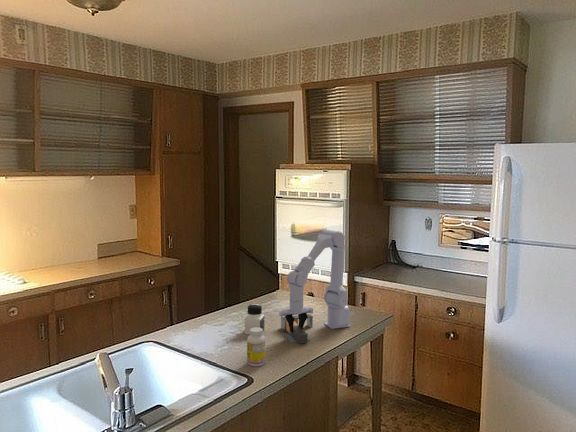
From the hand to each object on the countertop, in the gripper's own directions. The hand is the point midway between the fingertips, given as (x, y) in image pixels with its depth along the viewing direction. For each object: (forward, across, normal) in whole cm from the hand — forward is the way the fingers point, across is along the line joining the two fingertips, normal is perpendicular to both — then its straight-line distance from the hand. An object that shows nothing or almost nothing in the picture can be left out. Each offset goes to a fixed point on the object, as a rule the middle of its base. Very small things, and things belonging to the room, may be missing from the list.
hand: (296, 331), depth 203 cm
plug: (+2, 0, +1) cm, 2 cm away
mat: (+3, 0, 0) cm, 3 cm away
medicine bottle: (+3, +14, -12) cm, 19 cm away
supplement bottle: (+3, +24, +19) cm, 30 cm away
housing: (+3, -5, -10) cm, 12 cm away
